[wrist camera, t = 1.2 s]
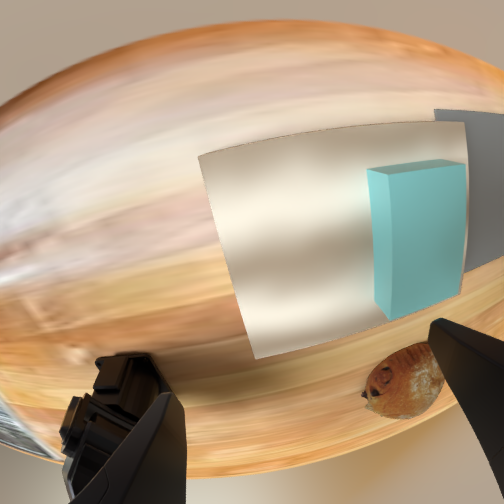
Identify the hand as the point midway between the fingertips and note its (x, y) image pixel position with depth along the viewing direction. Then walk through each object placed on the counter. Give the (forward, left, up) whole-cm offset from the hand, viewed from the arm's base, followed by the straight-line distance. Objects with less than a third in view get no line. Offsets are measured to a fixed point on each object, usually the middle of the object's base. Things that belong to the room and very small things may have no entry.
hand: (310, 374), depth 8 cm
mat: (0, -23, -13) cm, 26 cm away
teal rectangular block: (0, -9, -9) cm, 13 cm away
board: (0, -6, -13) cm, 15 cm away
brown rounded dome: (-20, -12, -13) cm, 27 cm away
